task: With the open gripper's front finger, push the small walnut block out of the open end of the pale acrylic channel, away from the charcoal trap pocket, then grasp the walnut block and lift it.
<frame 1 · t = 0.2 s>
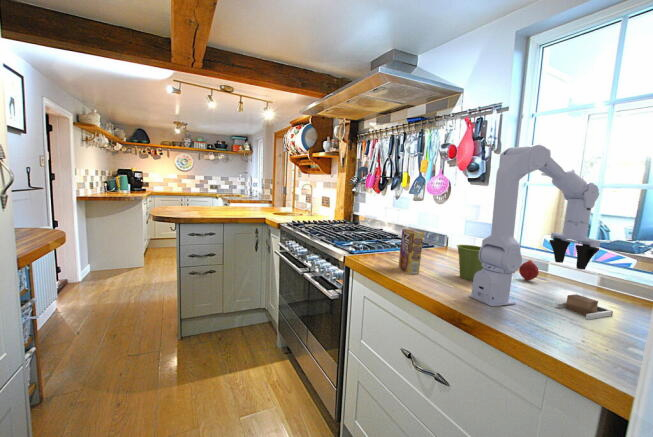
hand: (569, 265, 91), 10 cm above the table, fingers open, 7 cm apart
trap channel: (582, 311, 80), on the table
pomegranate: (527, 281, 107), on the table
plant pot: (470, 279, 105), on the table
walnut block: (580, 312, 80), on the table
candy box: (408, 271, 110), on the table
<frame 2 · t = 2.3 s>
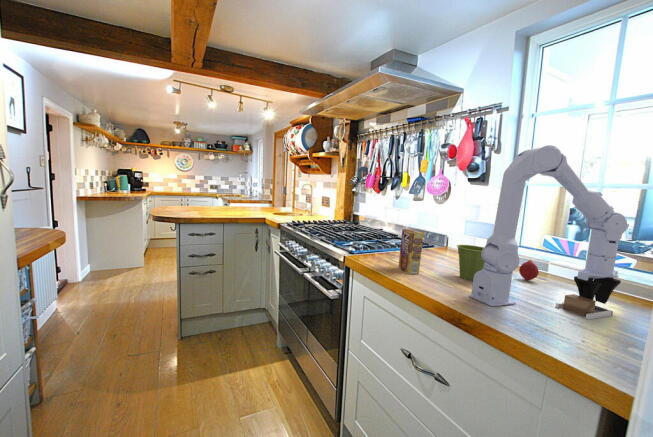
hand: (593, 303, 82), 2 cm above the table, fingers open, 6 cm apart
walnut block: (577, 312, 80), on the table, touching gripper
everything else where it was.
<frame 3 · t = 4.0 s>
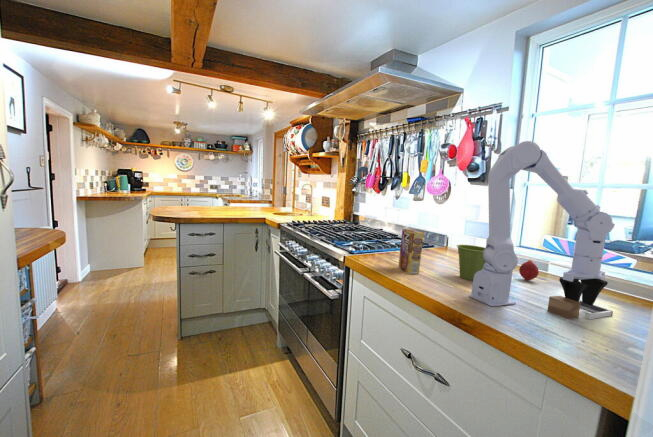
hand: (579, 305, 79), 2 cm above the table, fingers open, 7 cm apart
walnut block: (562, 314, 77), on the table, touching gripper
everything else where it was.
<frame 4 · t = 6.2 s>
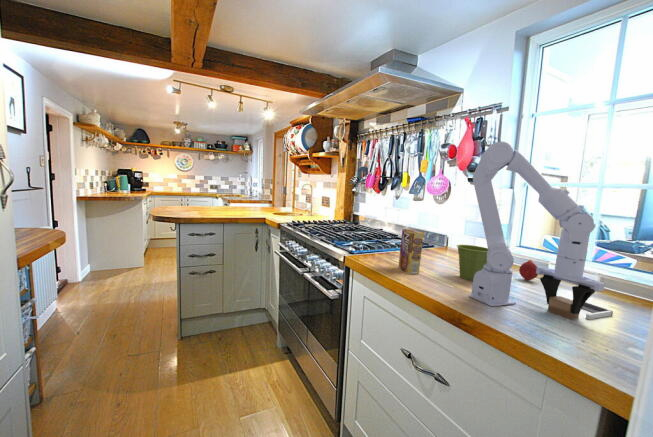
hand: (562, 308, 77), 2 cm above the table, fingers closed on walnut block, 5 cm apart
walnut block: (562, 314, 77), on the table, touching gripper
everything else where it was.
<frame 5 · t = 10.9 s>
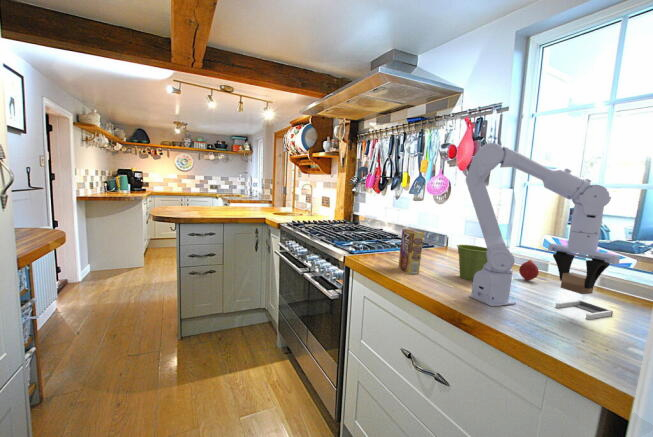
hand: (575, 284, 76), 8 cm above the table, fingers closed on walnut block, 5 cm apart
walnut block: (576, 290, 76), point 7 cm above the table, touching gripper
everything else where it was.
at the end: the gripper is holding walnut block; walnut block point 6.7 cm above the table; walnut block inside the target area (2.1 cm from its centre), point 6.7 cm above the table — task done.
